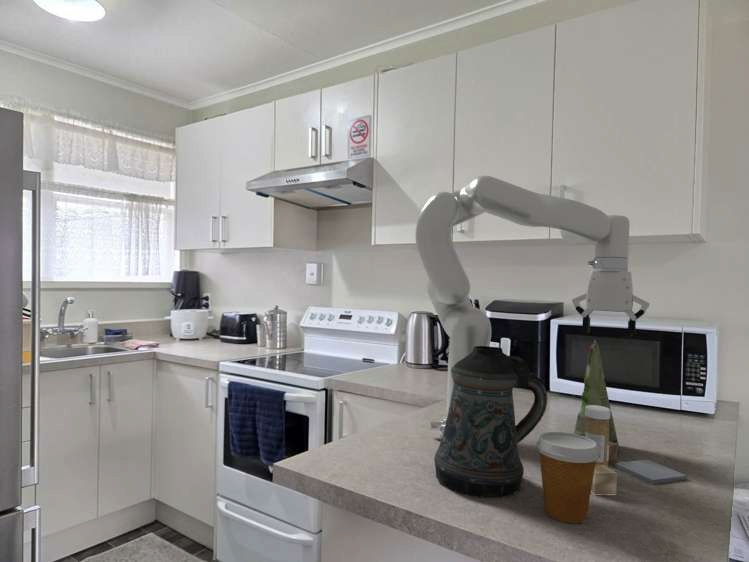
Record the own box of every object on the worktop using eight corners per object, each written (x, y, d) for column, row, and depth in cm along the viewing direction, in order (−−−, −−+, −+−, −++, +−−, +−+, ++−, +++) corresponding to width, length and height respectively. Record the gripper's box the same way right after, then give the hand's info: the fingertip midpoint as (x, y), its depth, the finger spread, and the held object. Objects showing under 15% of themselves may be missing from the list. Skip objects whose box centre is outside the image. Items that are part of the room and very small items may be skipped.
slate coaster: (652, 484, 91) (652, 480, 91) (614, 467, 100) (614, 463, 100) (686, 479, 94) (686, 475, 94) (647, 463, 103) (647, 459, 103)
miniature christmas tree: (591, 457, 105) (595, 343, 106) (556, 440, 117) (559, 337, 117) (632, 454, 108) (635, 343, 109) (594, 437, 120) (597, 337, 120)
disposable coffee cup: (576, 535, 71) (578, 454, 71) (522, 509, 79) (524, 436, 79) (609, 518, 77) (611, 443, 77) (556, 496, 84) (558, 428, 84)
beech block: (594, 495, 86) (595, 473, 86) (583, 486, 89) (583, 464, 90) (616, 495, 86) (616, 473, 86) (603, 486, 90) (604, 465, 90)
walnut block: (608, 466, 101) (609, 447, 101) (589, 460, 104) (590, 441, 104) (616, 462, 103) (617, 443, 103) (598, 456, 106) (598, 438, 106)
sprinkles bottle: (613, 477, 94) (615, 408, 95) (599, 481, 92) (602, 411, 92) (591, 469, 98) (593, 403, 98) (578, 473, 96) (580, 405, 96)
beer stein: (418, 469, 95) (422, 342, 95) (497, 458, 103) (501, 341, 103) (466, 505, 80) (471, 354, 80) (555, 489, 87) (560, 352, 88)
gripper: (570, 264, 121) (567, 332, 120) (649, 265, 111) (646, 339, 111) (576, 266, 127) (574, 331, 127) (652, 267, 117) (649, 337, 117)
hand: (608, 334), depth 119 cm, fingers open, 9 cm apart
